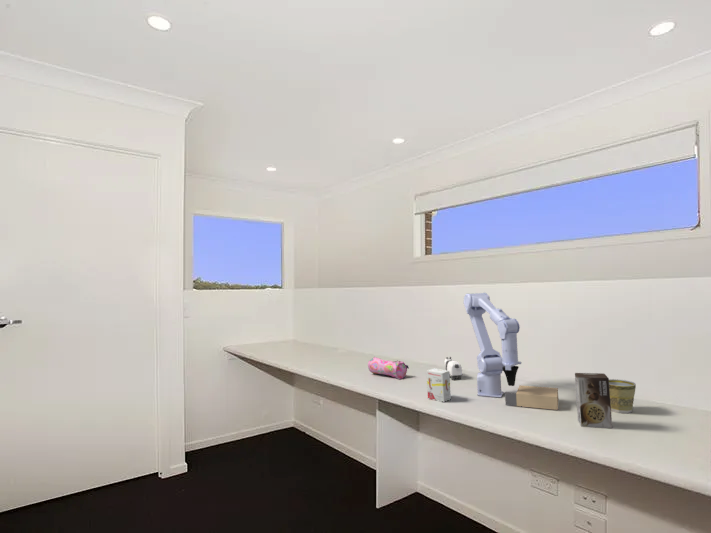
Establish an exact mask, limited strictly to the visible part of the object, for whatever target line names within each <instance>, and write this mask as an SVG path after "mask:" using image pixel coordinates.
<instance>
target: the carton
mask: <svg viewBox="0 0 711 533" xmlns="http://www.w3.org/2000/svg"><path fill="white" fill-rule="evenodd" d="M516 393H522V394H534V395H546V396H557V404H558V405H559V388H558V387H549V386H548V387H547V386H546V387H545V386H544V387H543V386H533V385H522V384H521V385H520V384H519V386H518V388H517V390H516ZM531 408H532V409H534V408H533V407H531ZM541 409H543V408H541ZM551 410H553V411H554V409H551Z"/></svg>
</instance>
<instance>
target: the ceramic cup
mask: <svg viewBox="0 0 711 533" xmlns="http://www.w3.org/2000/svg"><path fill="white" fill-rule="evenodd" d="M636 389H637V388H636V382H634V381H631V380H626V379H616V378H615V379H614V378H612V379H611V378H610V379H609V390H610V404H611V412H614V413H617V414H631V413H632V412H633V408H634V406H633V405H634V400H635V394H636Z"/></svg>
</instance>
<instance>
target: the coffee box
mask: <svg viewBox="0 0 711 533" xmlns="http://www.w3.org/2000/svg"><path fill="white" fill-rule="evenodd" d="M574 377H575V378H574V379H575V397H576V409H577V422H578V423H579V425H580V427H586V428H601V429H603V428H607V429H612V428H613V421H612V419H613V418H612V411H611V404H610V390H609V377H608V375H606V374H605V373H601V372H600V373H597V372H595V373H593V372H592V373H591V372H575V373H574Z"/></svg>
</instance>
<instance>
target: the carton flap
mask: <svg viewBox="0 0 711 533" xmlns="http://www.w3.org/2000/svg"><path fill="white" fill-rule="evenodd" d="M504 397H505V399H504V400H505V406H514V407H521V406H522V407H521V408H525V407H526V408H532V407H533V408H532V409H542V408H543V409H544V410H552V409H554V410H555V411H558V410H559V403H558V404H557V396H546V395H534V394H522V393H517V392H507V391H504ZM554 410H553V411H554Z"/></svg>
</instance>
